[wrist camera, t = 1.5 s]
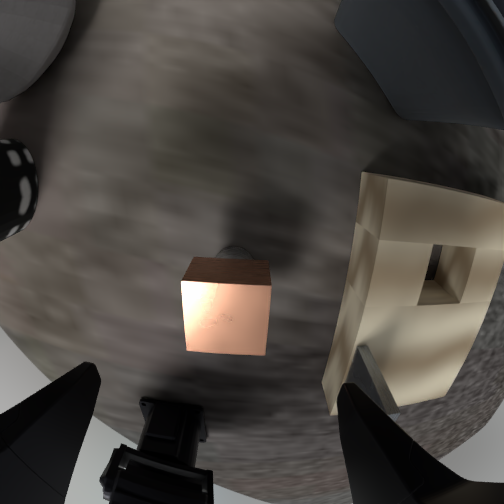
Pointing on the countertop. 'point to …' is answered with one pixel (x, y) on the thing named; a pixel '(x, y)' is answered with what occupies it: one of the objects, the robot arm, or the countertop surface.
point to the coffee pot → (30, 40)
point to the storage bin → (432, 56)
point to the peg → (227, 303)
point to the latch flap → (372, 381)
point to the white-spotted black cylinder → (16, 187)
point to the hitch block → (416, 285)
